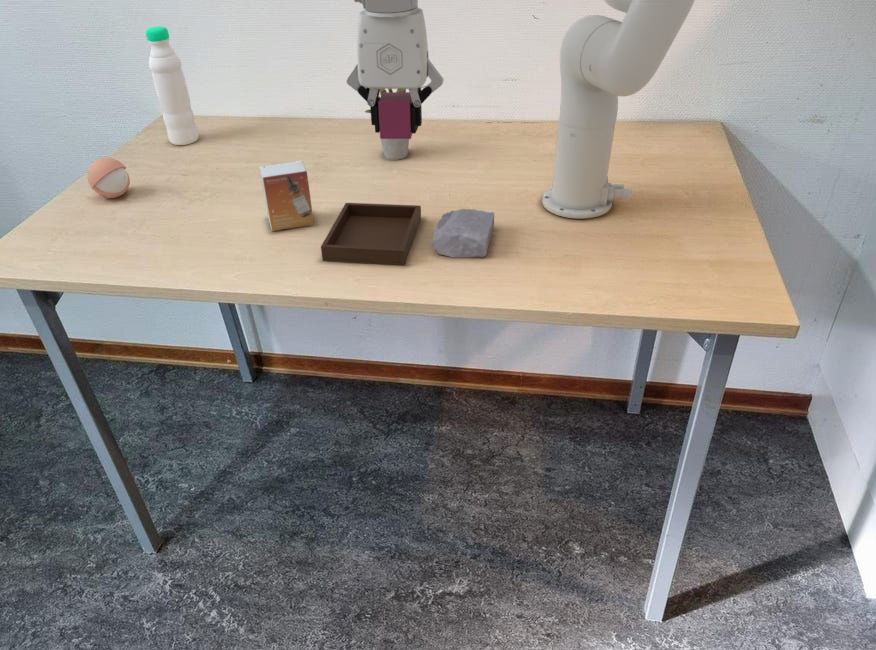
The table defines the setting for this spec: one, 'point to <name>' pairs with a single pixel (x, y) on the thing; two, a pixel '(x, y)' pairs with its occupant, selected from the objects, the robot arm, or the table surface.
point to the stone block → (464, 233)
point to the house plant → (394, 140)
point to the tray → (372, 234)
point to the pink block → (395, 115)
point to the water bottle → (171, 88)
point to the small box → (287, 195)
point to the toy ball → (108, 177)
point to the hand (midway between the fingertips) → (396, 128)
